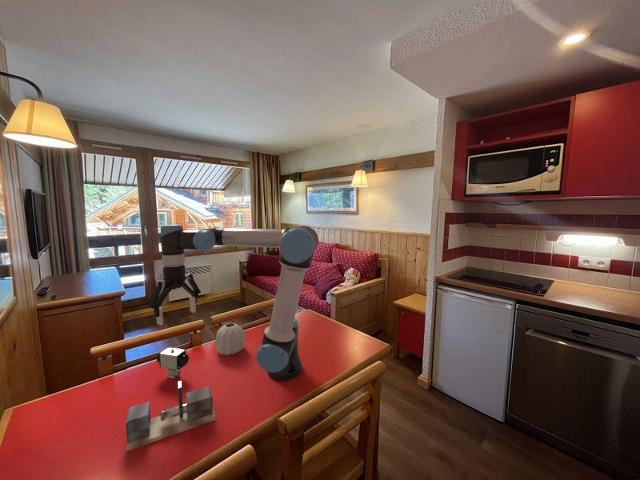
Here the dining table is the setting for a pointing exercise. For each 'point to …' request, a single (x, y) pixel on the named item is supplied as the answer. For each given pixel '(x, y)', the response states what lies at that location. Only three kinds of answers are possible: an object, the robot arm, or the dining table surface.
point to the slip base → (154, 429)
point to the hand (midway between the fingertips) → (177, 317)
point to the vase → (230, 339)
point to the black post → (175, 410)
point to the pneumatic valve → (172, 361)
